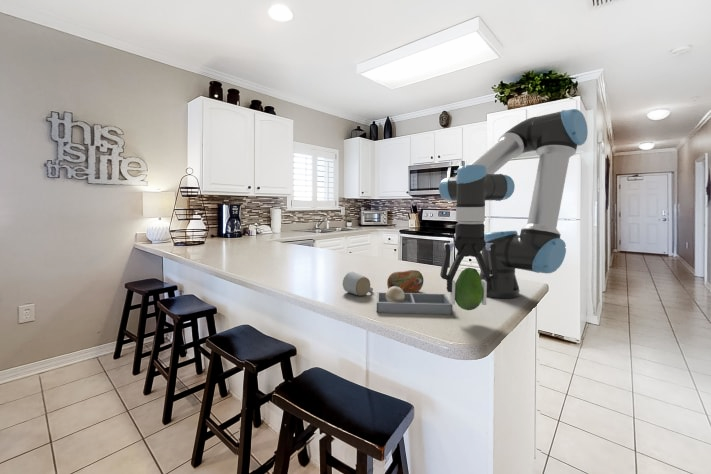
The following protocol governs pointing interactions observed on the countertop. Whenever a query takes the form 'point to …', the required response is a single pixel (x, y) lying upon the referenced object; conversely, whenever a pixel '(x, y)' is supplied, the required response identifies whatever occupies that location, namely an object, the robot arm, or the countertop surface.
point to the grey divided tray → (416, 304)
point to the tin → (406, 281)
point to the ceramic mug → (356, 284)
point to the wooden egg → (395, 295)
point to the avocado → (468, 289)
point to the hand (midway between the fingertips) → (467, 303)
